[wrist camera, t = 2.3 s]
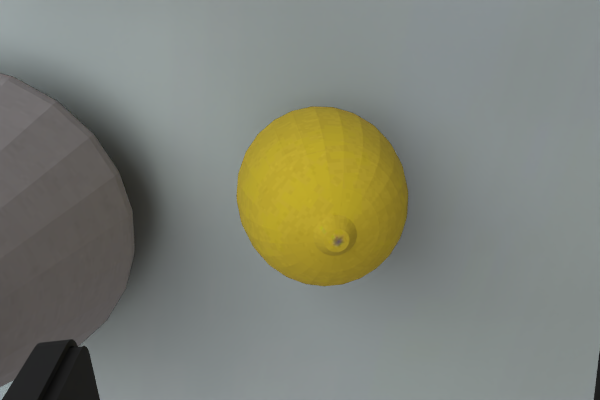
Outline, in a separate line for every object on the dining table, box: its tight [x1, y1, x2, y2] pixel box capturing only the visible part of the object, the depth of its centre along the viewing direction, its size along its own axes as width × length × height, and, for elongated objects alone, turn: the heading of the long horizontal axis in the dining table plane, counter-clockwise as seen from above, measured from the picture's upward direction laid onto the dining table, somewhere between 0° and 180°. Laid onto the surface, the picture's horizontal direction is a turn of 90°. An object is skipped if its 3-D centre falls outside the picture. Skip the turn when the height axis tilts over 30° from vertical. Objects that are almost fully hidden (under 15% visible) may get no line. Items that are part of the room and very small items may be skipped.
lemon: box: [237, 107, 408, 286], centre depth 19 cm, size 6×6×8 cm
